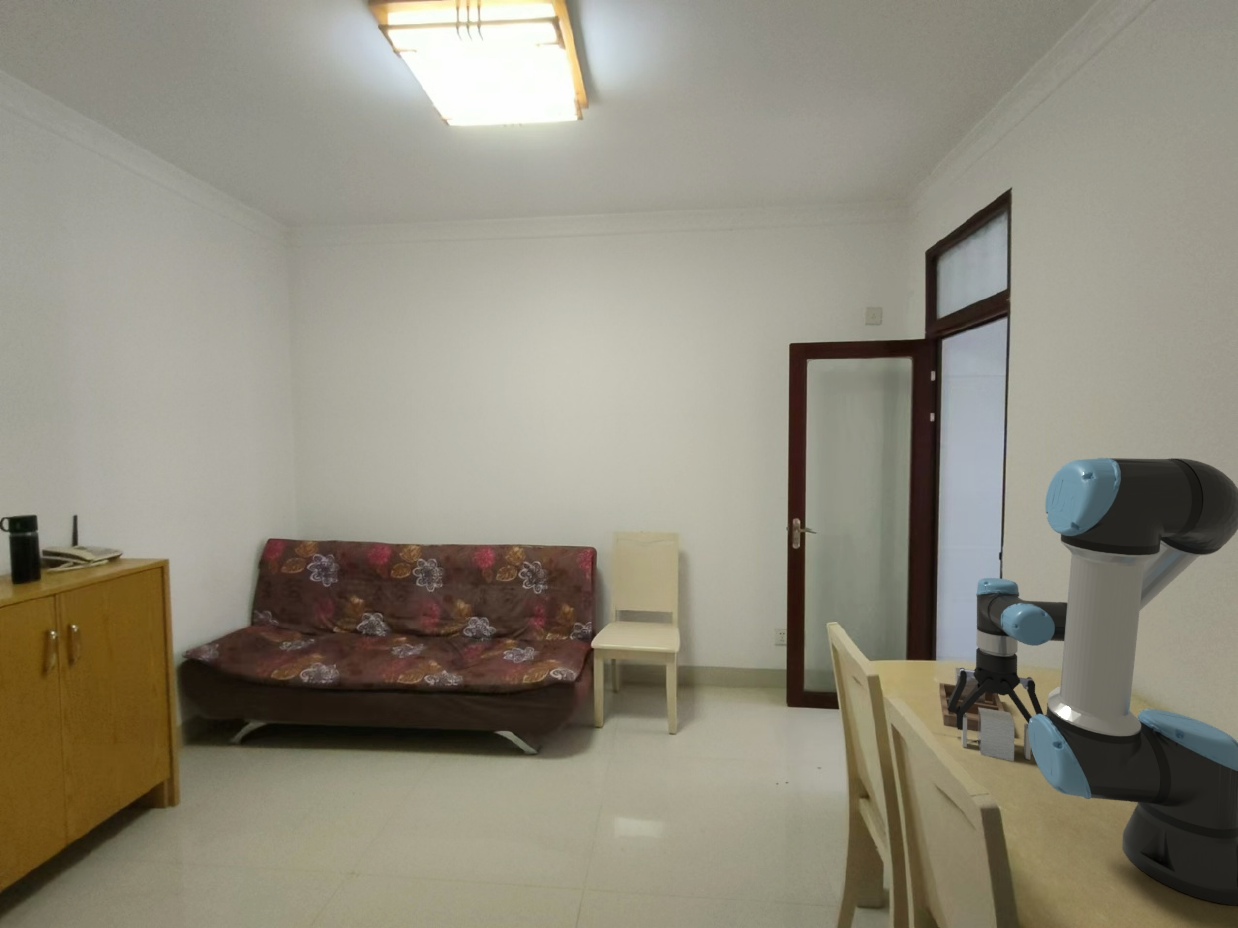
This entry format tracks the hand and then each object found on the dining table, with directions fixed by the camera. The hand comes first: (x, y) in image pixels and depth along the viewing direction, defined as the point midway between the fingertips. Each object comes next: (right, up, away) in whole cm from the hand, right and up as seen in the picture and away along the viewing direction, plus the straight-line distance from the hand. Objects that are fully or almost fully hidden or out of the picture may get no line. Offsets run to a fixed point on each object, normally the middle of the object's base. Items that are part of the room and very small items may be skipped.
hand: (995, 750), depth 127 cm
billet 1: (+7, +1, +21) cm, 22 cm away
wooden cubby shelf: (+5, 0, +16) cm, 17 cm away
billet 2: (0, 0, 0) cm, 0 cm away
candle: (+27, 0, +12) cm, 30 cm away
